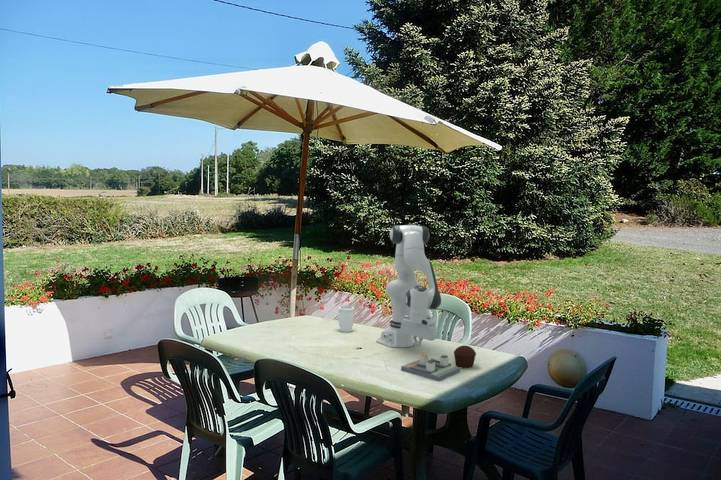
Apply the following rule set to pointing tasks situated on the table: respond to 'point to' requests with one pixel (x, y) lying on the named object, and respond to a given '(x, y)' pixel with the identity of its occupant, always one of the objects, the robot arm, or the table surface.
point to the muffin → (464, 357)
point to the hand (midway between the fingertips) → (417, 345)
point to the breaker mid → (423, 359)
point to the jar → (346, 318)
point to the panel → (436, 375)
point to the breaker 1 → (430, 366)
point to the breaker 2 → (444, 360)
